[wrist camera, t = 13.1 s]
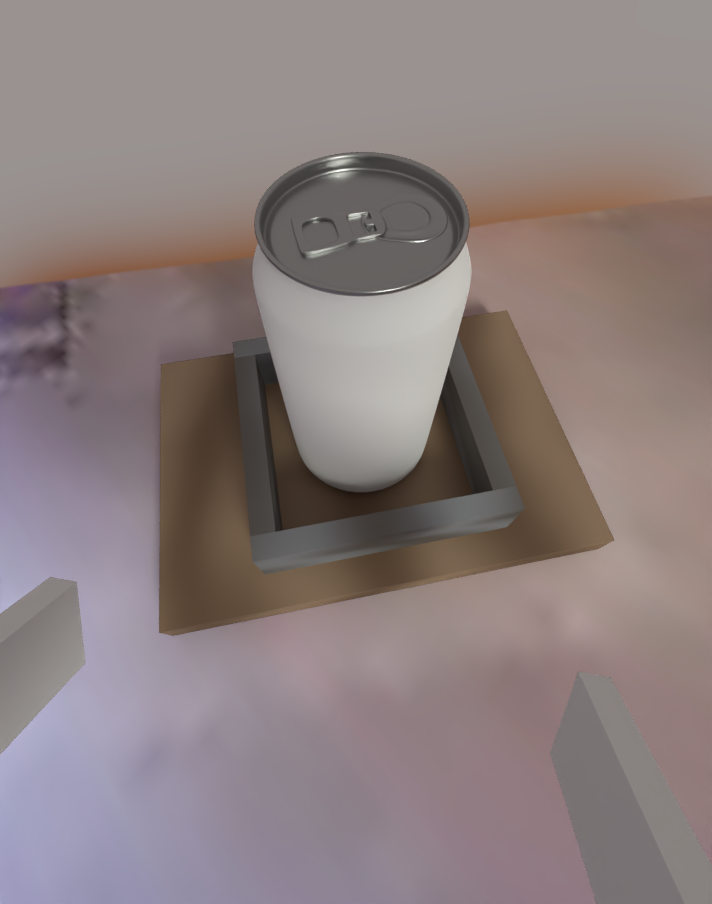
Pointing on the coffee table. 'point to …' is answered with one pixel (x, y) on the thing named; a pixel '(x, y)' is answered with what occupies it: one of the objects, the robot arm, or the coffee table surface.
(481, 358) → the wooden board with frame
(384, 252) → the can
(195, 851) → the coffee table surface
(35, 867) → the coffee table surface
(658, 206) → the coffee table surface
